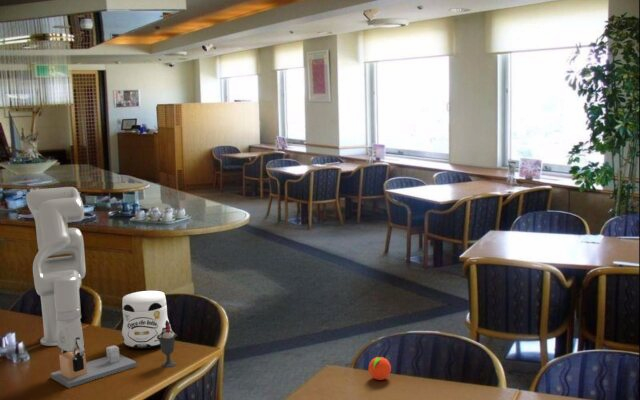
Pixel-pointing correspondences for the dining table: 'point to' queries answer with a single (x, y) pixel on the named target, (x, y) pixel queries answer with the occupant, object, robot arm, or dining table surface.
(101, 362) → the slate board
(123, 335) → the milk container
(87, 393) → the dining table surface
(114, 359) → the post far
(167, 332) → the sundae
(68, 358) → the peach wooden block
